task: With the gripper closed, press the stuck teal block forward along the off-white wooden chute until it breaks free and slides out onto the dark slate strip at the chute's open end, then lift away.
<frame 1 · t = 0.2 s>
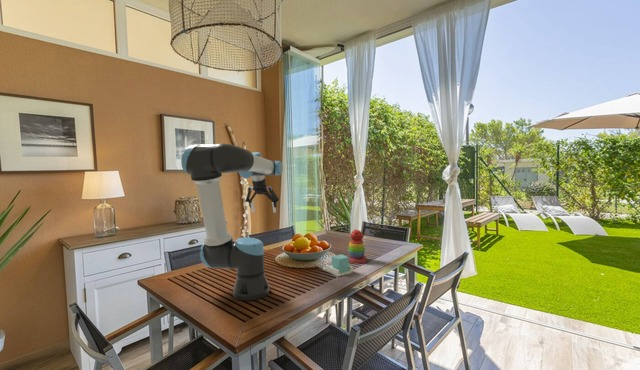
hand: (264, 212, 172), 28 cm above the table, tool tilted 20°, fingers open, 13 cm apart
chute: (337, 270, 148), on the table
block: (340, 263, 145), point 4 cm above the table, slide at 0.0 cm
stacking bear: (357, 260, 164), on the table
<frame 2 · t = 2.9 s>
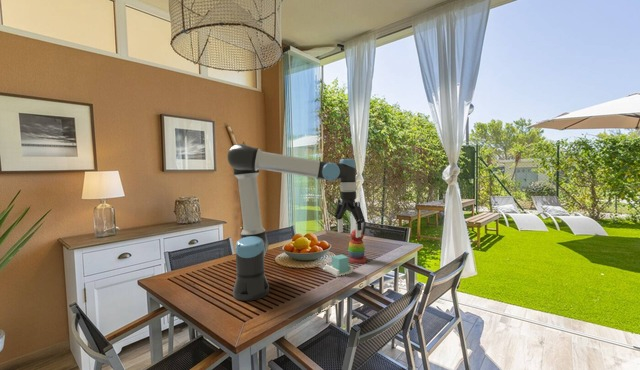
hand: (349, 234, 139), 21 cm above the table, tool pointing down, fingers open, 13 cm apart
nothing on the table moved.
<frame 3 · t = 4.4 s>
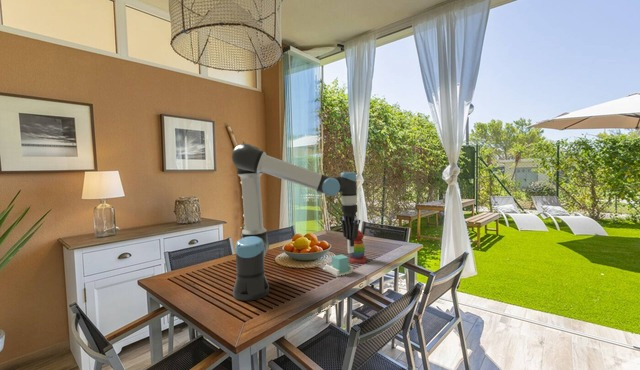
hand: (350, 252, 138), 12 cm above the table, tool pointing down, fingers closed
nothing on the table moved.
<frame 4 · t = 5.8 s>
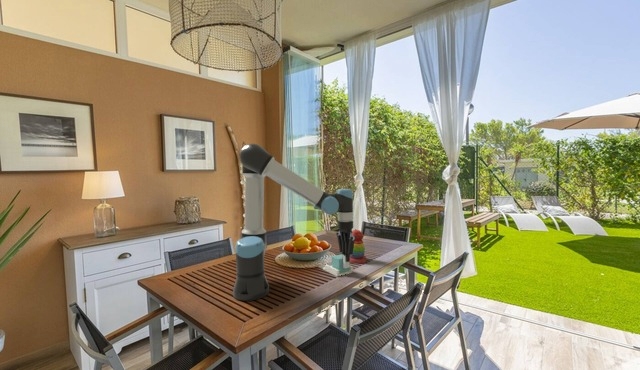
hand: (346, 267, 141), 4 cm above the table, tool pointing down, fingers closed
block: (340, 263, 146), point 4 cm above the table, slide at 0.1 cm, touching gripper
everything else where it was.
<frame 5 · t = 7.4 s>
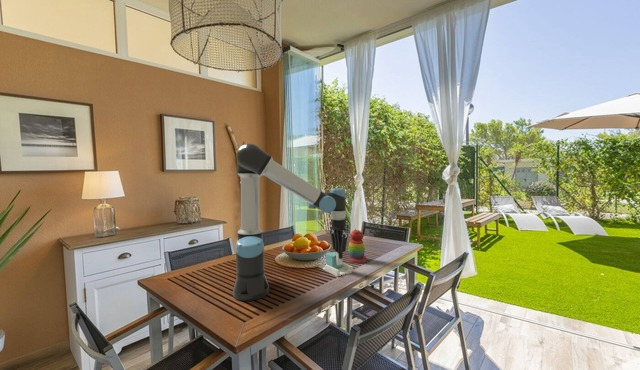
hand: (339, 264, 146), 4 cm above the table, tool pointing down, fingers closed
block: (333, 260, 150), point 5 cm above the table, slide at 5.9 cm, touching gripper
everything else where it was.
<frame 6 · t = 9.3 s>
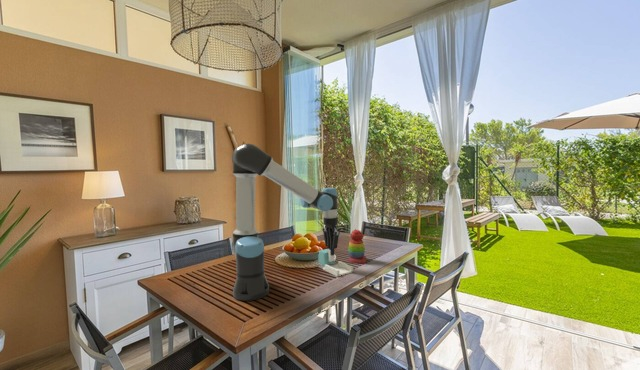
hand: (331, 260, 152), 4 cm above the table, tool pointing down, fingers closed
block: (326, 257, 156), point 5 cm above the table, slide at 12.9 cm, touching gripper
everything else where it was.
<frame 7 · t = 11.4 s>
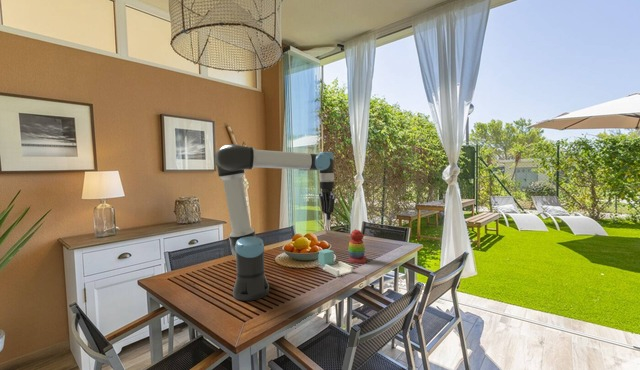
hand: (327, 225, 152), 23 cm above the table, tool pointing down, fingers closed
block: (326, 257, 156), point 5 cm above the table, slide at 13.0 cm
everything else where it was.
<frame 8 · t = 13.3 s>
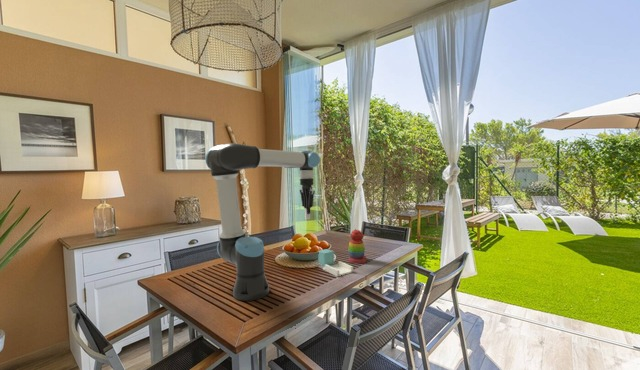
hand: (307, 219, 163), 24 cm above the table, tool pointing down, fingers closed
nothing on the table moved.
at the end: block slide at 13.0 cm; block inside the target area (1.0 cm from its centre), resting on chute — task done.
